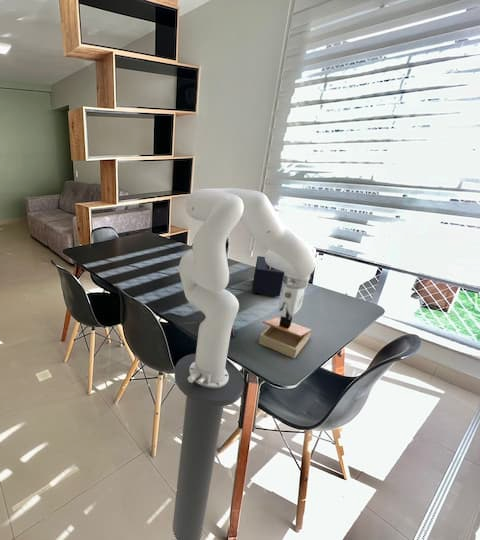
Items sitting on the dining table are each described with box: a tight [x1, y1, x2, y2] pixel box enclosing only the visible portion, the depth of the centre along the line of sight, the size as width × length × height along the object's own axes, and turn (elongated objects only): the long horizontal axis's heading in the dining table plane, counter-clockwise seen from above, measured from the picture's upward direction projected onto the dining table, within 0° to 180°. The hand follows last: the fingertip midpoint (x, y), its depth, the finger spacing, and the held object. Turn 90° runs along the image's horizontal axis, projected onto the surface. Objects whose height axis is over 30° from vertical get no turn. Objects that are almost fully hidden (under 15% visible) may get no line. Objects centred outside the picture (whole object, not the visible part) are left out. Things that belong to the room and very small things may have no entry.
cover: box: [262, 316, 312, 337], centre depth 109 cm, size 17×13×1 cm
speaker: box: [251, 255, 284, 298], centre depth 152 cm, size 22×13×15 cm, turn 154°
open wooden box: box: [257, 325, 312, 359], centre depth 110 cm, size 17×13×4 cm
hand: (284, 326), depth 105 cm, fingers closed
